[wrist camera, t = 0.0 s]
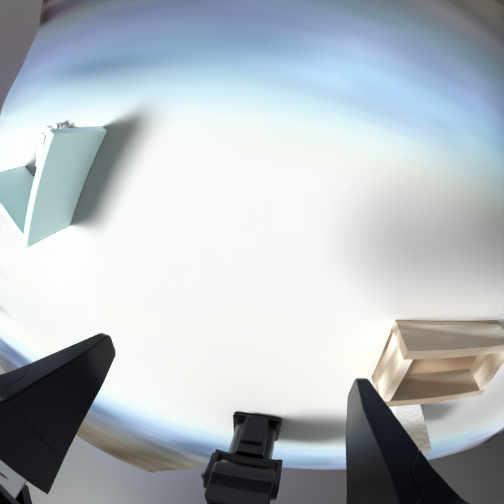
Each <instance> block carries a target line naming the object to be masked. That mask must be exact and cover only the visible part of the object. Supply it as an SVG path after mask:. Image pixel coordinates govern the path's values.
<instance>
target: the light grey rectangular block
mask: <svg viewBox="0 0 504 504" xmlns="http://www.w3.org/2000/svg"><path fill="white" fill-rule="evenodd" d="M392 412H393V414H394V415H395V416H396V418H397V419H398V420H399V422H400V423H401V425H402V426H403V427H404V429H405V430H406V431H407V433H408V434H409V435H410V437H411V438H412V440H413V441H414V442H415V444H416V445H417V447H418V448H419V450H420V451H421V452H422V453H423V455H424V456H425V455H426V454H428V453H429V452H430V451H431V446H430V442H429V437H428V433H427V428H426V424H425V420H424V416H423V413H422V409H421V405H420V404H418V405H406V406H394V408H393V409H392Z"/></svg>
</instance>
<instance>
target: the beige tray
mask: <svg viewBox="0 0 504 504" xmlns="http://www.w3.org/2000/svg"><path fill="white" fill-rule="evenodd" d="M503 362H504V329H503V328H502V326H501V325H500V324H499V323H498V321H403V320H395V323H394V325H393V328H392V331H391V333H390V336H389V338H388V341H387V343H386V346H385V348H384V351H383V353H382V356H381V358H380V360H379V362H378V365H377V367H376V369H375V371H374V374H373V376H372V378H373V383H374V388H375V389H376V391H377V392H378V393H379V395H380V396H381V397H382V399H383V400H384V401H385V403H386V404H387V405H388V407H391V406H406V405H418V404H427V403H435V402H443V401H449V400H455V399H461V398H467V397H472V396H476V395H481V394H482V392H483V391H484V390H485V388H486V387H487V386H488V384H489V383H490V381H491V380H492V378H493V377H494V375H495V374H496V372H497V371H498V369H499V368H500V366H501V365H502V363H503Z"/></svg>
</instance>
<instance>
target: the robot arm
mask: <svg viewBox="0 0 504 504" xmlns="http://www.w3.org/2000/svg"><path fill="white" fill-rule="evenodd" d="M114 357H115V348H114V345H113V343H112V340H111V337H110V336H109V335H106V334H103V333H100V334H97V335H95V336H93V337H90V338H88V339H86V340H84V341H81V342H79V343H77V344H74V345H72V346H70V347H68V348H65V349H63V350H61V351H58V352H56V353H54V354H51V355H49V356H47V357H44V358H42V359H40V360H37V361H35V362H33V363H31V364H28V365H26V366H23V367H21V368H18V369H16V370H13V371H10V372H7V373H4V374H1V375H0V504H32V502H31V498H30V493H29V489H28V486H27V485H26V484H25V483H26V482H27V481H28V482H30V483H31V484H33V485H34V486H36V487H37V488H39V489H40V490H42V491H43V492H45V493H46V494H48V493H49V491H50V489H51V487H52V484H53V482H54V479H55V477H56V475H57V473H58V471H59V469H60V466H61V464H62V462H63V459H64V458H65V455H66V453H67V451H68V449H69V447H70V445H71V443H72V441H73V439H74V437H75V435H76V433H77V431H78V429H79V427H80V425H81V424H82V422H83V420H84V418H85V416H86V414H87V412H88V410H89V408H90V407H91V405H92V403H93V401H94V399H95V397H96V396H97V394H98V392H99V390H100V388H101V386H102V384H103V382H104V380H105V378H106V375H107V373H108V371H109V368H110V366H111V364H112V362H113V359H114ZM233 420H234V435H233V439H232V442H231V446H230V449H229V452H224V451H221V450H218V449H216V451H215V453H212V456H211V459H210V462H209V464H208V465H207V467H206V468H205V470H204V472H203V473H202V476H201V477H202V479H203V480H204V489H206V491H205V498H206V501H207V504H270V500H271V501H275V500H276V497H277V494H278V489H279V484H280V476H281V468H282V460H279V459H278V460H274V459H272V454H273V448H274V442H275V441H277V439H278V434H279V430H280V426H281V421H282V420H281V419H279V418H272V417H264V416H257V415H250V414H244V413H239V412H235V413H234V415H233ZM346 465H347V504H471V503H469V502H467V501H465V500H464V499H462V498H461V497H460V496H459V495H458V494H457V493H456V492H455V491H454V490H453V489H452V488H451V487H450V486H449V484H448V483H447V482H446V481H445V480H444V479H443V478H442V477H441V476H440V475H439V474H438V472H437V471H436V470H435V469H434V468H433V467H432V465H431V464H430V463H429V461H428V460H427V459H426V457H425V456H424V455H423V453H422V452H421V451H420V450H419V448H418V447H417V445H416V444H415V442H414V441H413V440H412V438H411V437H410V435H409V434H408V433H407V431H406V430H405V429H404V427H403V426H402V425H401V423H400V422H399V420H398V419H397V418H396V416H395V415H394V414H393V412H392V411H391V410H390V408H389V407H388V405H387V404H386V403H385V401H384V400H383V399H382V397H381V396H380V395H379V393H378V392H377V391H376V389H375V388H374V387H373V385H372V384H371V383H370V381H369V380H368V379H365V378H357V379H355V381H354V383H353V385H352V387H351V390H350V392H349V395H348V404H347V422H346Z"/></svg>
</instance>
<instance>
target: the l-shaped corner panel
mask: <svg viewBox="0 0 504 504" xmlns="http://www.w3.org/2000/svg"><path fill="white" fill-rule="evenodd" d="M106 133H107V130H106V129H105V128H104V127H102V126H101V127H76V128H68V125H67V123H66V124H63V125H62V124H61V123H59V124H57V123H56V124H54V125H53V126H47V127H46V131H45V132H43V133H41V134H40V139H39V141H38V150H37V151H36V155H37V156H36V163H35V167H36V168H37V169H36V173H35V177H34V176H33V175H32V174H31V173H30V172H29V170H28V169H27V168H26V167H25V166H23V167H19V168H15V169H11V170H8V171H4V172H1V173H0V212H1V213H2V215H3V216H4V218H5V219H6V220H7V222H8V223H9V225H10V226H11V227H12V229H13V230H14V232H15V233H16V234H17V236H18V237H19V238H20V239H21V241H22V242H23V243H24V245H25V246H26V247H29V246H31V245H33V244H35V243H36V242H38V241H40V240H42V239H44V238H46V237H48V236H50V235H52V234H54V233H56V232H58V231H60V230H62V229H64V228H66V227H68V226H70V225H71V221H72V218H73V215H74V212H75V209H76V206H77V203H78V200H79V197H80V194H81V191H82V189H83V186H84V183H85V181H86V178H87V176H88V173H89V171H90V168H91V166H92V163H93V161H94V159H95V156H96V154H97V152H98V150H99V147H100V145H101V143H102V141H103V139H104V137H105V135H106Z"/></svg>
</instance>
